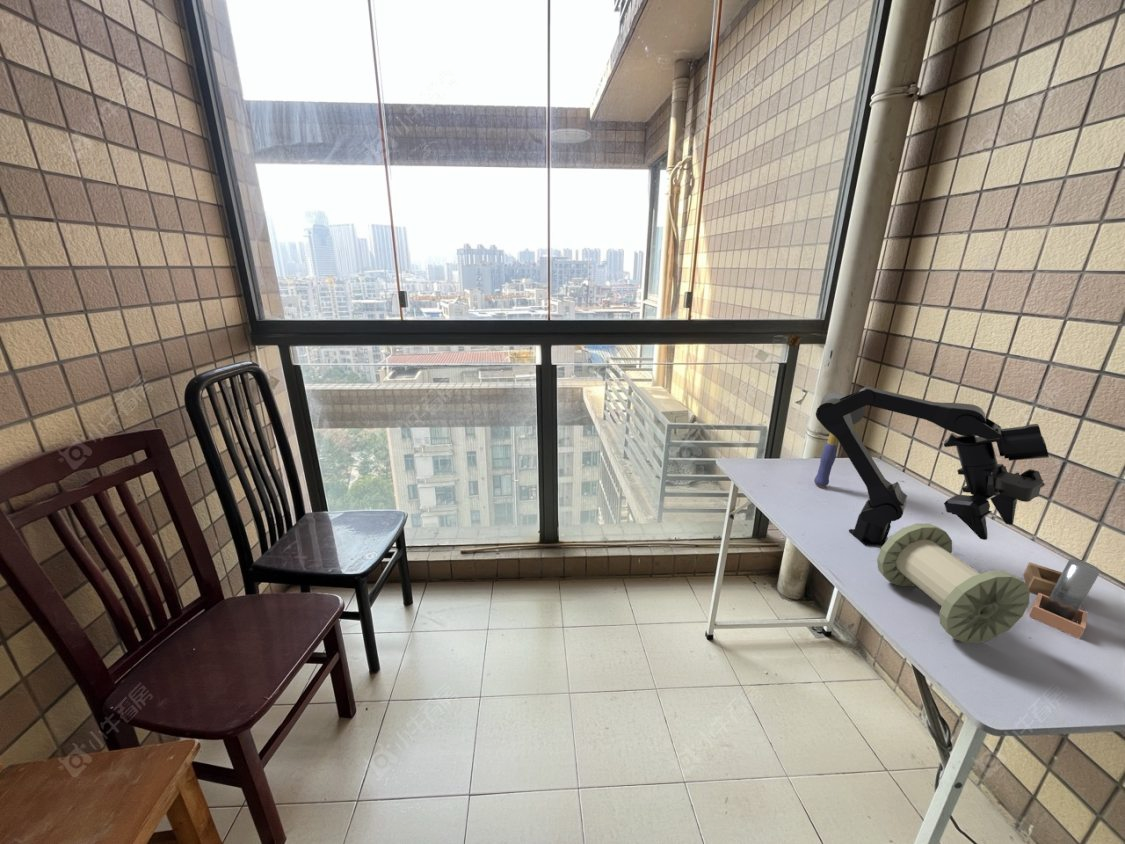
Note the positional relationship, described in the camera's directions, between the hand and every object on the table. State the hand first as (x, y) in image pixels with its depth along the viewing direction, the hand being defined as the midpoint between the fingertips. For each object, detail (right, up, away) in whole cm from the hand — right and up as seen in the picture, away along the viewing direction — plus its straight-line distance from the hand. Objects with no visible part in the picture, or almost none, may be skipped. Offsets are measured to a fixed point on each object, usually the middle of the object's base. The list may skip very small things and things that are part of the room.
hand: (997, 531), depth 93 cm
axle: (+5, -16, -7) cm, 18 cm away
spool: (-18, -15, -5) cm, 24 cm away
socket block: (+5, -16, -7) cm, 18 cm away
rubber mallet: (-12, +3, +44) cm, 46 cm away
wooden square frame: (+13, -13, +1) cm, 18 cm away
